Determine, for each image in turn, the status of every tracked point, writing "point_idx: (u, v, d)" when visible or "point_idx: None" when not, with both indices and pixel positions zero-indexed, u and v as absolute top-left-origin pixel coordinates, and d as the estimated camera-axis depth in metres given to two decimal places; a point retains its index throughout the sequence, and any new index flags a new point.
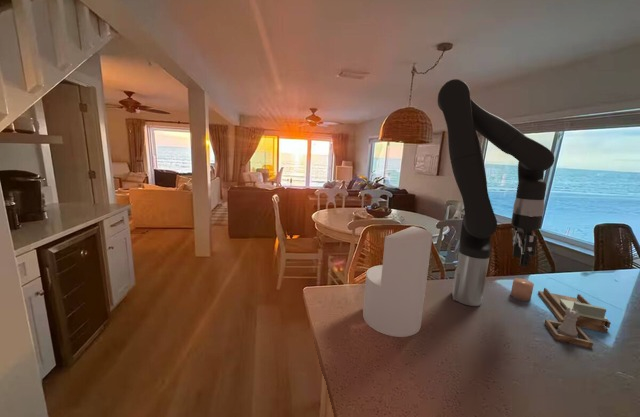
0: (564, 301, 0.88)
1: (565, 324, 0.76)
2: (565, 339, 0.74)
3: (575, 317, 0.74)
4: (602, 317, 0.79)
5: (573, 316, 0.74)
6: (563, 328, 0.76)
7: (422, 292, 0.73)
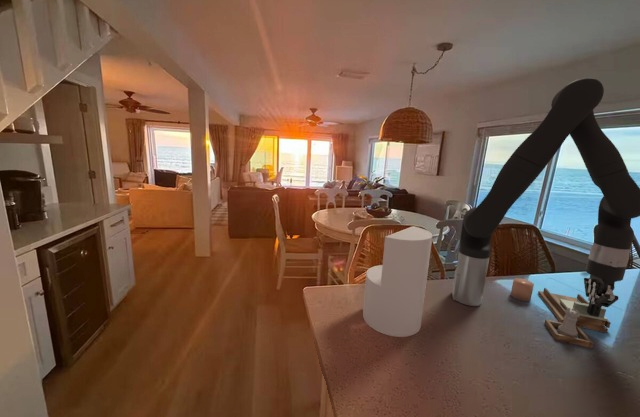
0: (564, 301, 0.88)
1: (565, 324, 0.76)
2: (565, 339, 0.74)
3: (575, 317, 0.74)
4: (602, 317, 0.79)
5: (573, 316, 0.74)
6: (563, 328, 0.76)
7: (422, 292, 0.73)
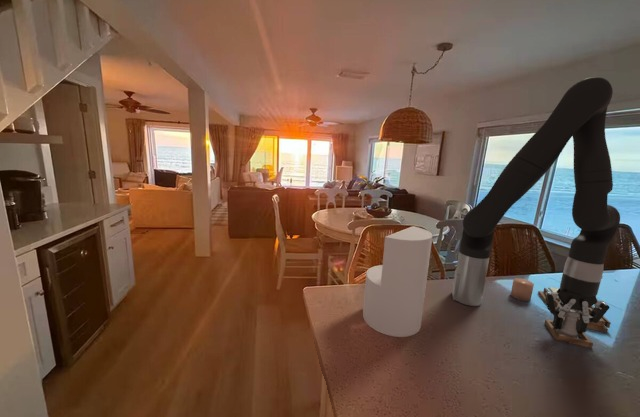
0: (552, 288, 0.97)
1: (565, 324, 0.76)
2: (565, 339, 0.74)
3: (575, 317, 0.74)
4: None
5: (573, 316, 0.74)
6: (563, 328, 0.76)
7: (422, 292, 0.73)
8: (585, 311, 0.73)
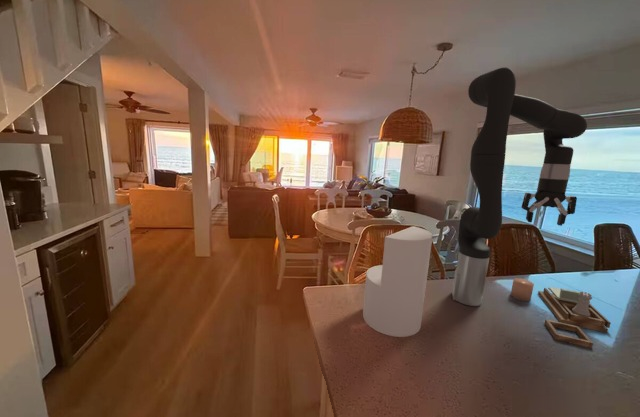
0: (552, 288, 0.97)
1: (578, 306, 0.84)
2: (565, 339, 0.74)
3: (588, 299, 0.82)
4: None
5: (586, 298, 0.82)
6: (577, 310, 0.84)
7: (422, 292, 0.73)
8: (560, 206, 0.89)
